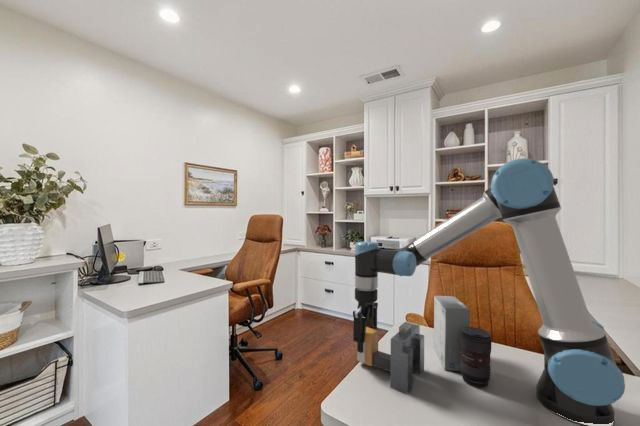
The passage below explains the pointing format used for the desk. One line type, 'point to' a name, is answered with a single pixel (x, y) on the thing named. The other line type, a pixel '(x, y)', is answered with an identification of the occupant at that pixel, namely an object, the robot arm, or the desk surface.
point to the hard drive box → (449, 330)
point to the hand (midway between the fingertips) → (365, 357)
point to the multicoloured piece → (375, 351)
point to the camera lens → (475, 356)
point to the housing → (406, 357)
